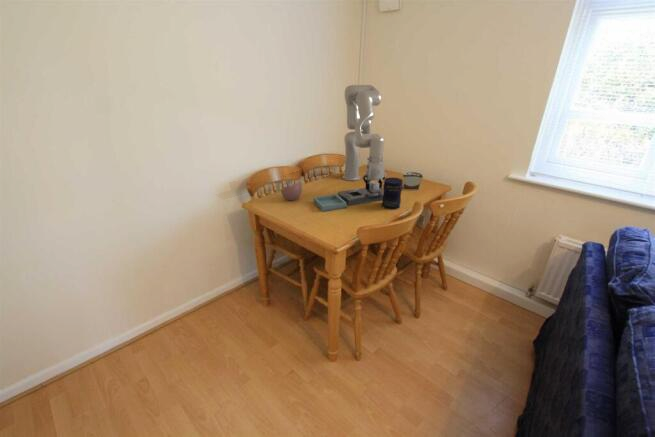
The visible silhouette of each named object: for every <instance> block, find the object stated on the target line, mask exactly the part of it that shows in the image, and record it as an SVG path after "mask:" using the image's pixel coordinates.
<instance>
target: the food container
mask: <svg viewBox="0 0 655 437" xmlns="http://www.w3.org/2000/svg"><path fill="white" fill-rule="evenodd" d="M402 177H403V183H402V190H404V189H408V191H419V190H420V187H421V186H420V185H421V182H422V179H423V178H424V176H423V174H422V173H420V172H416V171H406V172H404V173H403V174H402Z"/></svg>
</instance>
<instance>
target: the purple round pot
mask: <svg viewBox="0 0 655 437" xmlns="http://www.w3.org/2000/svg"><path fill="white" fill-rule="evenodd" d="M290 182H291V180H290V179H288V181H286V183H285V185H286V187H282V188H281V189H280V193H281V195H282V197H283V198H284V199H286V200H288V201H294V200H297V199H299V198H300V197H301V195H302V192H303V187H302V185H301V183H300V182H298V183H294V184H291V185H290Z"/></svg>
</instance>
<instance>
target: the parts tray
mask: <svg viewBox="0 0 655 437" xmlns="http://www.w3.org/2000/svg"><path fill="white" fill-rule="evenodd" d="M313 204H315V205H316V206H317V207H318V209H320V211H321V212H323V213H325V212H331V211H336V210H341V209H347V208H348V207H347V206H348V205H347V203H346V202H345V201H344V200H343V199H341V198H340V197H339V196H338V194H337V193H335V194H329V195H328V194H327V195H323V196H315V197H313Z"/></svg>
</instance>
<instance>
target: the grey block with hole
mask: <svg viewBox="0 0 655 437" xmlns="http://www.w3.org/2000/svg"><path fill="white" fill-rule="evenodd" d="M337 195H338V196H339V197H340V198H341V199H343V200H344V201H345V202H346V203H347V206H348V207H349V206H357V205H362V204H368V203H373V202H374V203H375V202H379V201H382V200H383V195H384V187H382V188H381V189H380V188H379V192H378V193H370V192H369V191H368V190H367V189H366V188H365V187H363V188H362V187H361V188H356V189H355V188H354V189H347V190H346V189H345V190H342V191H341V190H340V191H337Z"/></svg>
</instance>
